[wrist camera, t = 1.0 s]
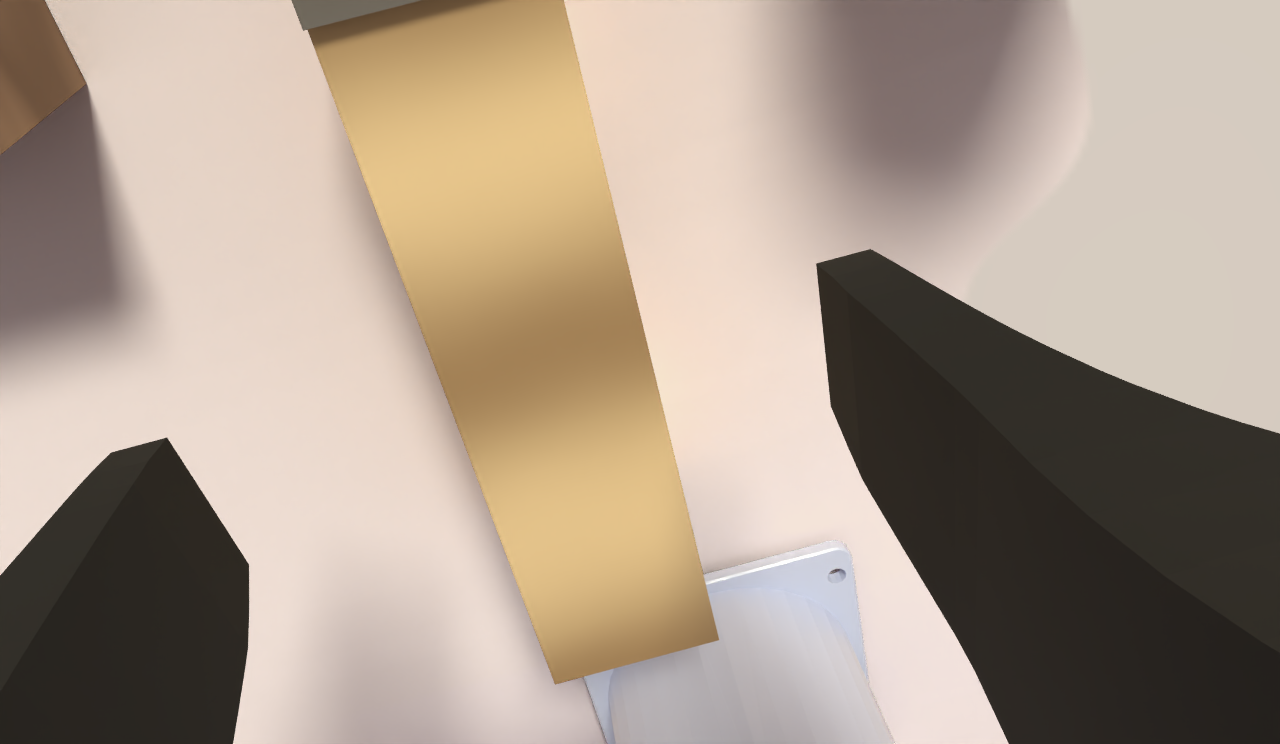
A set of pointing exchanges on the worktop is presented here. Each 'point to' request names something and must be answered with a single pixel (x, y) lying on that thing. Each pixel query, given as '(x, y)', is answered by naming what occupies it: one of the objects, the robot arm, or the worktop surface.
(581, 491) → the rail
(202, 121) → the worktop surface
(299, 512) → the worktop surface
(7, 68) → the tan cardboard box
